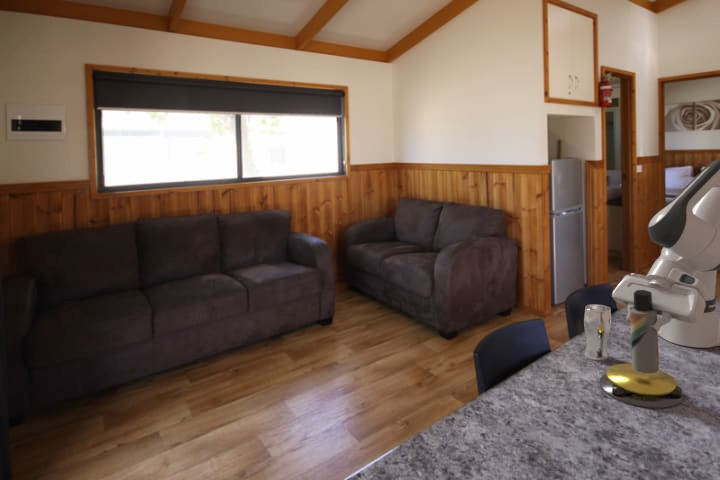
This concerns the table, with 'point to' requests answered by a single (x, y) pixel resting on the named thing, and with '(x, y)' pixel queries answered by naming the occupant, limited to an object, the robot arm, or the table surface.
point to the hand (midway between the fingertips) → (641, 325)
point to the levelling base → (641, 398)
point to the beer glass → (597, 331)
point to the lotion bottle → (644, 334)
